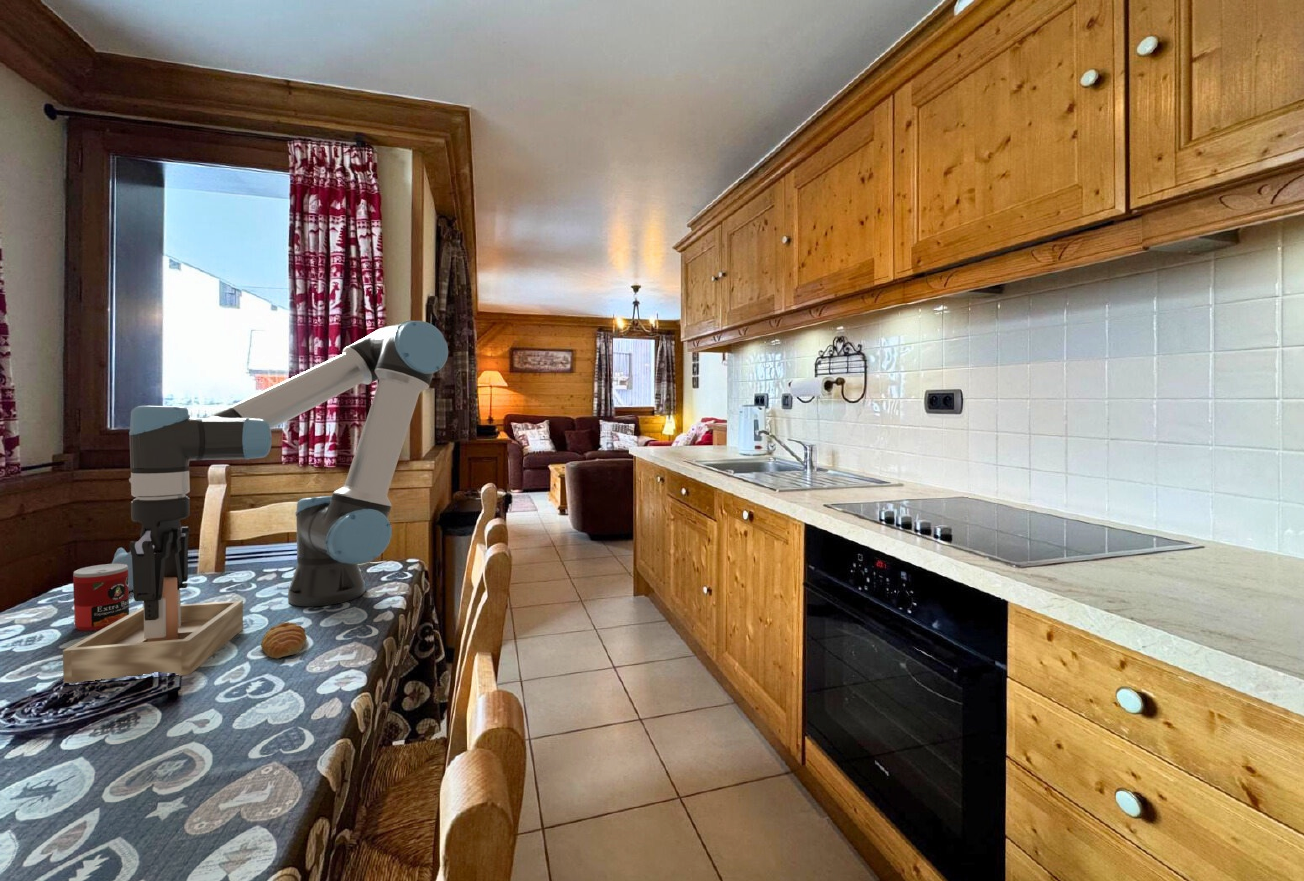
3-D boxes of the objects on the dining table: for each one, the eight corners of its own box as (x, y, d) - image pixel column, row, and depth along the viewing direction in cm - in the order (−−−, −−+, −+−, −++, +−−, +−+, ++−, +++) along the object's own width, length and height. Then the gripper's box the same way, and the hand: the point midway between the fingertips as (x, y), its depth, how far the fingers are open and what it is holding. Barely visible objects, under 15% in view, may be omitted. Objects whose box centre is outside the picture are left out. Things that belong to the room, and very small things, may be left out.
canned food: (95, 633, 105) (94, 575, 105) (62, 629, 107) (61, 572, 107) (140, 619, 113) (139, 564, 113) (109, 615, 115) (107, 562, 114)
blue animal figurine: (165, 585, 135) (164, 544, 134) (123, 596, 126) (122, 552, 126) (145, 583, 136) (144, 542, 136) (102, 594, 128) (101, 550, 127)
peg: (183, 643, 99) (182, 576, 99) (170, 652, 95) (169, 582, 95) (155, 645, 98) (154, 577, 98) (141, 655, 94) (140, 584, 94)
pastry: (310, 654, 98) (309, 633, 98) (263, 665, 94) (262, 642, 94) (303, 637, 105) (303, 617, 105) (260, 646, 101) (259, 625, 101)
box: (243, 628, 109) (242, 600, 108) (189, 674, 89) (188, 640, 89) (143, 636, 104) (142, 607, 104) (63, 686, 85) (62, 650, 85)
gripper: (162, 490, 103) (164, 616, 104) (100, 504, 87) (103, 654, 87) (211, 489, 105) (212, 613, 106) (158, 503, 89) (161, 650, 89)
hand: (163, 631), depth 97 cm, fingers closed on peg, 4 cm apart
